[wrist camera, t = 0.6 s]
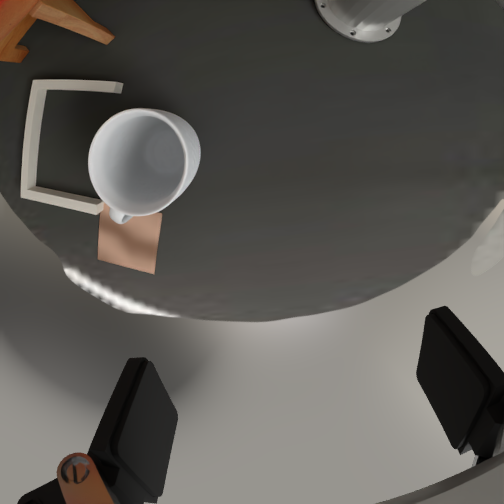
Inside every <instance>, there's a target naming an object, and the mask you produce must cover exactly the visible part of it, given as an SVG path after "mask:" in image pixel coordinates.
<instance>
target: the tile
mask: <svg viewBox="0 0 504 504" xmlns="http://www.w3.org/2000/svg"><path fill="white" fill-rule="evenodd" d="M109 211H110V207H109V206H108V205H107V204H106V203H105V202H104V207H103V211H101V212H100V222H99V240H98V259H99V260H102V261H106V262H110V263H113V264H117V265H121V266H125V267H128V268H132V269H136V270H140V271H144V272H148V273H151V274H154V272H155V264H156V255H157V248H158V240H159V233H160V226H161V219H162V213H159V212H156V213H153V214H150V215H146V216H133V217H132V218H131V219H130V220H128V221H127V222H126V223H124V224H118V223H116V222H114V221H113V220H112V219H111V218H110V216H109Z"/></svg>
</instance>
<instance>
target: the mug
mask: <svg viewBox="0 0 504 504" xmlns="http://www.w3.org/2000/svg"><path fill="white" fill-rule="evenodd" d="M200 151H201V150H200V143H199V140H198V138H197V135H196V133H195V131H194V129H193V128H192V127H191V125H189V124H188V123H187V122H186V121H185V120H183V119H182V118H181V117H179V116H177V115H175V114H173V113H170V112H166V111H162V110H157V109H150V108H148V109H145V108H135V109H128V110H125V111H122V112H119V113H117V114H115V115H114V116H112V117H111V118H109V119H108V120H107V121H106V122H105V123H104V124H103V125H102V126H101V127H100V128H99V130H98V131H97V133H96V135H95V136H94V138H93V141H92V143H91V146H90V150H89V156H88V169H89V174H90V179H91V182H92V184H93V187H94V189H95V191H96V192H97V194H98V195H99V197H100V198H101V199H102V200H103V201H104V202H105V203H106V204H107V205H108V206H109V207H110V211H109V216H110V218H111V219H112V220H113V221H114V222H116V223H118V224H124V223H126V222H127V221H128V220H130V219H131V218H132V217H133V216H146V215H150V214H153V213H156V212H158V211H160V210H162V209H164V208H165V207H167V206H168V205H169V204H170V203H172V202H173V201H174V200H175V199H176V198H178V197H179V196H180V195H181V194H182V193H183V191H184V190H185V189H186V188H187V187H188V186H189V184H190V183H191V181H192V180H193V178H194V176H195V174H196V171H197V169H198V166H199V163H200V155H201V154H200Z"/></svg>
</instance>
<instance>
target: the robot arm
mask: <svg viewBox="0 0 504 504" xmlns="http://www.w3.org/2000/svg"><path fill="white" fill-rule="evenodd" d="M314 1H315V6H316V8H317V11H318V13H319V14H320V16H321V17H322V19H323V20H324V21H325V22H326V24H327V25H328V26H329V27H331V28H332V29H333V30H334V31H336V32H337V33H339V34H340V35H342V36H344V37H346V38H349V39H351V40H354V41H358V42H366V43H371V42H378V41H382V40H384V39H386V38H388V37H389V36H391V35H392V34H393V33H394V32H395V31H396V30H397V29H398V26H399V24H400V21H401V16H402V15H403V14H405V13H406V12H408V11H410V10H411V9H413V8H415V7H416V6H418V5H420V4H421V3H423V2H425V1H426V0H314ZM495 1H496V2H497V3H498V5H499V6H500V7H501V8H503V9H504V0H495ZM321 6H323V7H324V8H322V7H321ZM386 31H387V32H388V33H387V32H386ZM350 33H352V34H353V36H352V35H351V34H350ZM416 375H417V380H418V382H419V383H420V385H421V387H422V389H423V391H424V393H425V394H426V396H427V398H428V400H429V402H430V404H431V406H432V408H433V410H434V411H435V413H436V415H437V417H438V419H439V421H440V423H441V425H442V427H443V429H444V431H445V433H446V435H447V437H448V439H449V441H450V443H451V445H452V447H453V448H454V449H458V451H459V453H460V455H461V454H463V453H465V452H467V451H469V450H473V451H474V454H475V458H474V461H473V464H472V467H471V468H470V469H467V470H465V471H463V472H461V473H459V474H456V475H454V476H452V477H449V478H447V479H445V480H443V481H440V482H438V483H435V484H433V485H430V486H428V487H425V488H422V489H420V490H417V491H414V492H412V493H409V494H405V495H402V496H399V497H396V498H393V499H390V500H386V501H383V502H380V503H376V504H504V372H503V371H502V370H501V368H500V367H499V366H498V365H497V363H496V362H495V361H494V360H493V358H492V357H491V356H490V355H489V354H488V352H487V351H486V350H485V349H484V348H483V346H482V345H481V344H480V343H479V342H478V341H477V339H476V338H475V337H474V336H473V335H472V334H471V332H470V331H469V330H468V329H467V328H466V327H465V326H464V324H462V322H461V321H460V320H459V319H458V318H457V317H456V316H455V314H454V313H453V312H452V311H451V310H450V309H449V308H448V307H446V306H443V307H439V308H436V309H432V310H431V311H430V312H429V315H427V316H426V318H425V325H424V332H423V338H422V345H421V350H420V356H419V361H418V366H417V372H416ZM177 421H178V414H177V411H176V409H175V407H174V405H173V403H172V401H171V399H170V397H169V395H168V393H167V391H166V389H165V387H164V385H163V383H162V381H161V379H160V378H159V375H158V373H157V371H156V369H155V367H154V365H153V363H152V362H151V361H148V360H147V359H146V358H144V357H142V358H130V359H128V361H127V363H126V365H125V367H124V369H123V371H122V374H121V376H120V378H119V380H118V382H117V385H116V387H115V389H114V391H113V394H112V396H111V398H110V400H109V403H108V405H107V407H106V409H105V412H104V414H103V417H102V419H101V421H100V424H99V426H98V429H97V431H96V433H95V436H94V438H93V441H92V443H91V446H90V448H89V451H88V453H87V454H84V453H73V454H70V455H68V456H67V457H65V458H64V459H63V460H62V461H61V462H60V464H59V466H58V468H57V478H56V479H54V480H53V481H50V482H49V483H47V484H45V485H43V486H41V487H39V488H37V489H35V490H33V491H31V492H29V493H27V494H25V495H24V496H22V497H21V498H20V499H19V501H18V503H17V504H144V502H148V503H157V499H158V497H160V496H161V495H162V493H163V489H164V484H165V479H166V474H167V468H168V464H169V459H170V453H171V449H172V444H173V439H174V435H175V430H176V425H177Z"/></svg>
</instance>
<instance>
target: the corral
mask: <svg viewBox="0 0 504 504" xmlns="http://www.w3.org/2000/svg"><path fill="white" fill-rule="evenodd" d="M122 87H123V83H119V82H112V81H95V80H33V83H32V88H31V93H30V99H29V105H28V111H27V118H26V126H25V134H24V144H23V156H22V172H21V197H22V198H26V199H31V200H35V201H39V202H43V203H48V204H52V205H56V206H61V207H65V208H69V209H74V210H78V211H82V212H86V213H91V214H95V215H97V214H98V213H100V212H101V211H103V207H104V201H103V200H100V199H95V198H90V197H86V196H81V195H76V194H71V193H67V192H62V191H57V190H52V189H48V188H43V187H38V186H36V173H37V159H38V147H39V138H40V130H41V122H42V116H43V109H44V103H45V98H46V92H47V90H78V91H95V92H109V93H120V94H121V92H122Z"/></svg>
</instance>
